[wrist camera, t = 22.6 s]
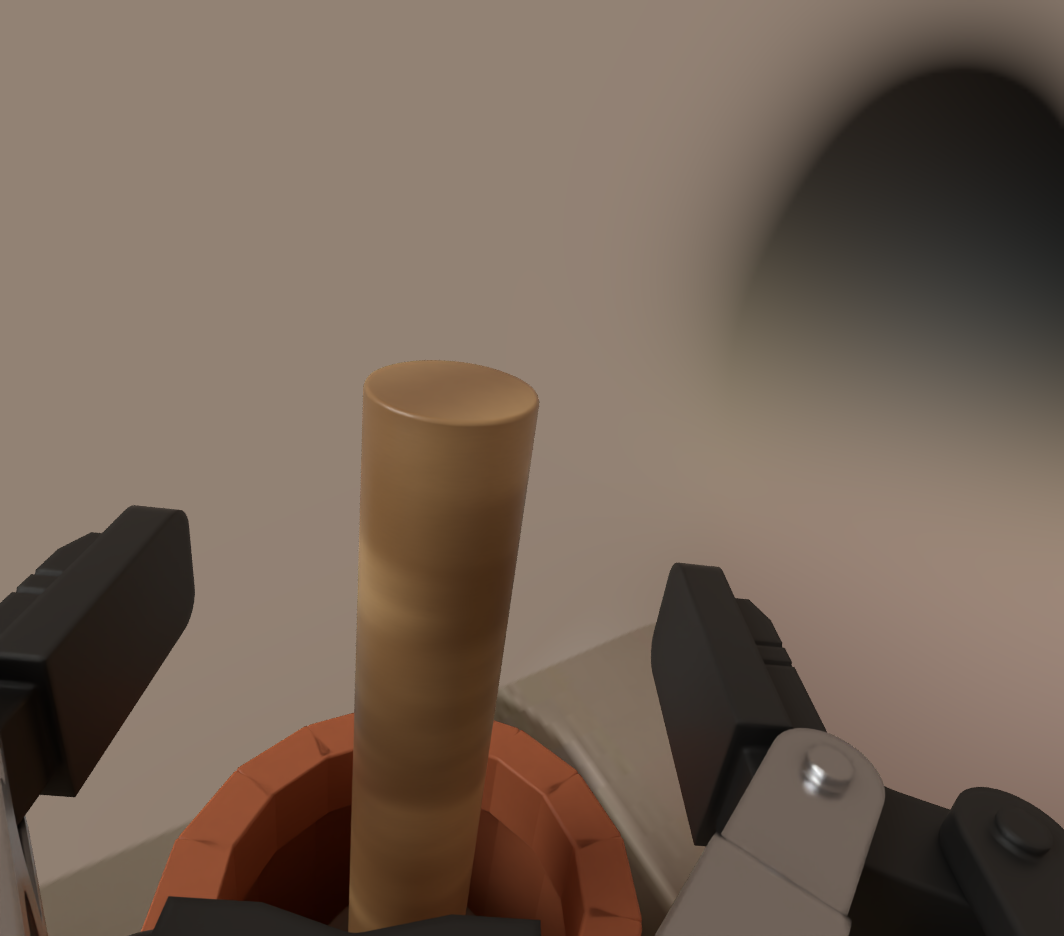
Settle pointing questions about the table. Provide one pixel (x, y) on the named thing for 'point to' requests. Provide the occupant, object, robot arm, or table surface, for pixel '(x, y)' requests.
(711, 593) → the robot arm
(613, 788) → the table surface
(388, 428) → the brown cylinder
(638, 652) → the table surface
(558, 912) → the jar
